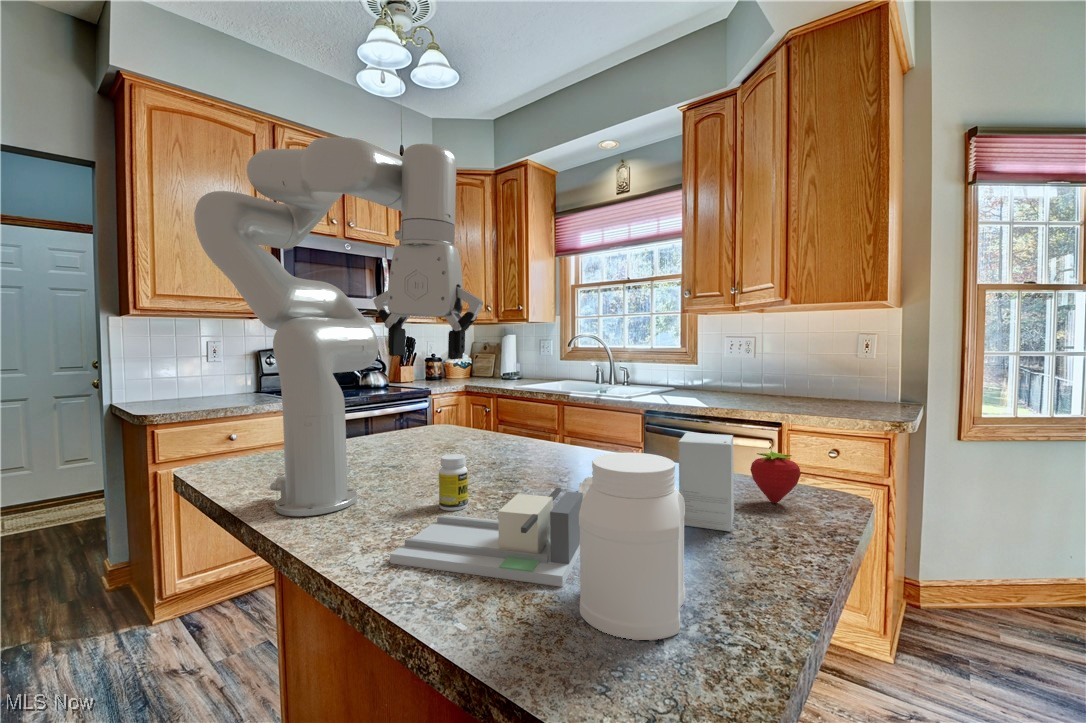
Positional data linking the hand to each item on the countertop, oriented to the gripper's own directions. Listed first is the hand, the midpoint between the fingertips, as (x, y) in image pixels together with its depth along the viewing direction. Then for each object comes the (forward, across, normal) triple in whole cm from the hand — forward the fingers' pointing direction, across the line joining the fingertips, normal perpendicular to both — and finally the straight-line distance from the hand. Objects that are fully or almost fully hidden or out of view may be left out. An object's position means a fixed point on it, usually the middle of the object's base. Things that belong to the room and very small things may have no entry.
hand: (425, 357), depth 71 cm
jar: (+24, +33, -13) cm, 43 cm away
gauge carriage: (+23, +18, -5) cm, 29 cm away
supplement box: (+23, +40, +14) cm, 49 cm away
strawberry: (+23, +51, +25) cm, 61 cm away
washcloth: (+25, +26, +18) cm, 40 cm away
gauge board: (+24, +14, -5) cm, 28 cm away
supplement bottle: (+25, 0, +9) cm, 27 cm away
